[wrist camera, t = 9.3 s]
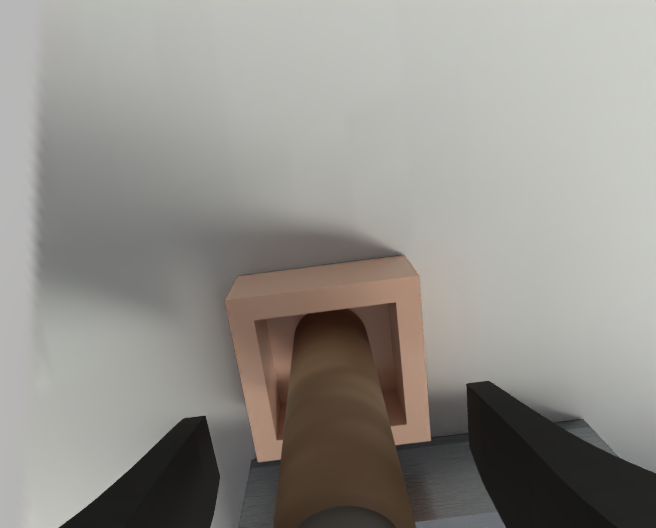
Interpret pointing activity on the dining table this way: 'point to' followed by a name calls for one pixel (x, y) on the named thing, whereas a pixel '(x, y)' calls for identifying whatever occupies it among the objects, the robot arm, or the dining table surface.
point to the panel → (415, 483)
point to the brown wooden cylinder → (338, 433)
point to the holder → (325, 295)
